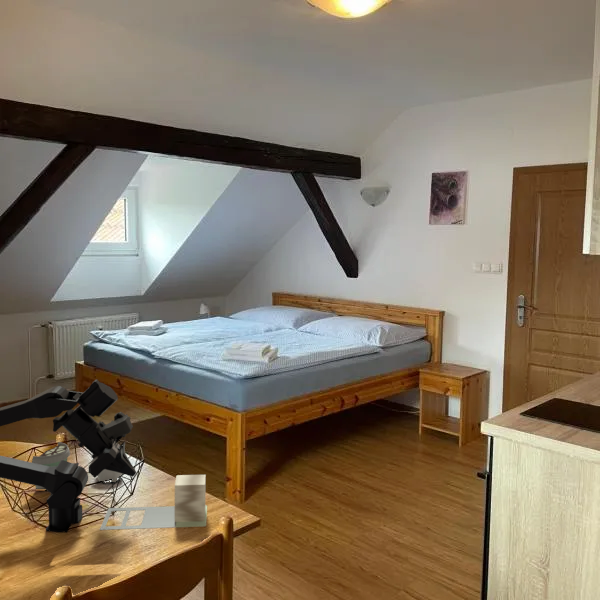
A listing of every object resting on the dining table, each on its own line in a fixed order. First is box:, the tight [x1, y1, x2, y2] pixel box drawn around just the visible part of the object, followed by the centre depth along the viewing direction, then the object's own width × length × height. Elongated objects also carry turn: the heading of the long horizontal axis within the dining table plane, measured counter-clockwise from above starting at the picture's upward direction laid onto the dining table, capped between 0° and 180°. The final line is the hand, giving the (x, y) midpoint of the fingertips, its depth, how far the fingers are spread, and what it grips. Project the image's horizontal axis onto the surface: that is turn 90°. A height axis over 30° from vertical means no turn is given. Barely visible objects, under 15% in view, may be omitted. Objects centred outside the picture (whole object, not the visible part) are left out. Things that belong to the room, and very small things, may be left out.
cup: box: [97, 469, 122, 484], centre depth 171 cm, size 11×8×8 cm
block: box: [174, 474, 207, 522], centre depth 146 cm, size 7×6×9 cm
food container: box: [31, 441, 71, 490], centre depth 165 cm, size 12×6×10 cm, turn 168°
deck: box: [99, 504, 208, 531], centre depth 146 cm, size 24×11×2 cm, turn 97°
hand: (134, 474), depth 144 cm, fingers closed
